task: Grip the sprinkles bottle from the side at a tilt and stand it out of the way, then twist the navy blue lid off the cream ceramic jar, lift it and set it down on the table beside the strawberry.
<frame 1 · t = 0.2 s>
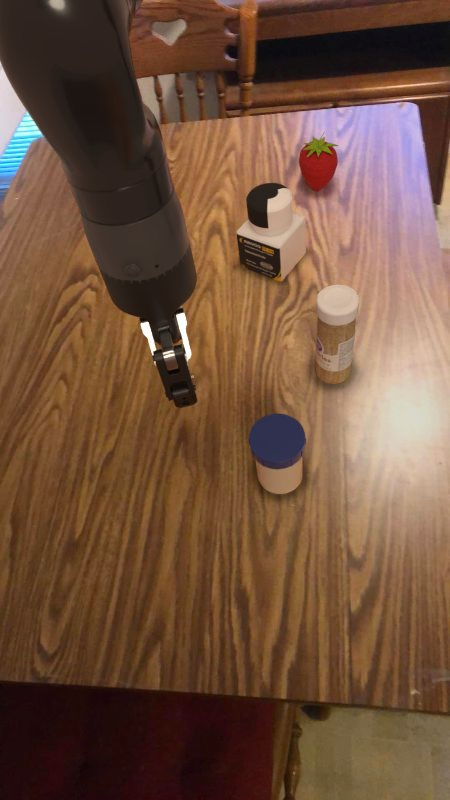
hand: (179, 369, 57), 13 cm above the table, tool pointing down, fingers open, 8 cm apart
medicine bottle: (273, 264, 83), on the table
sprinkles bottle: (333, 375, 71), on the table
strawberry: (317, 192, 92), on the table
jar: (280, 476, 64), on the table
jar lid: (277, 438, 57), point 8 cm above the table, screwed on, not yet turned
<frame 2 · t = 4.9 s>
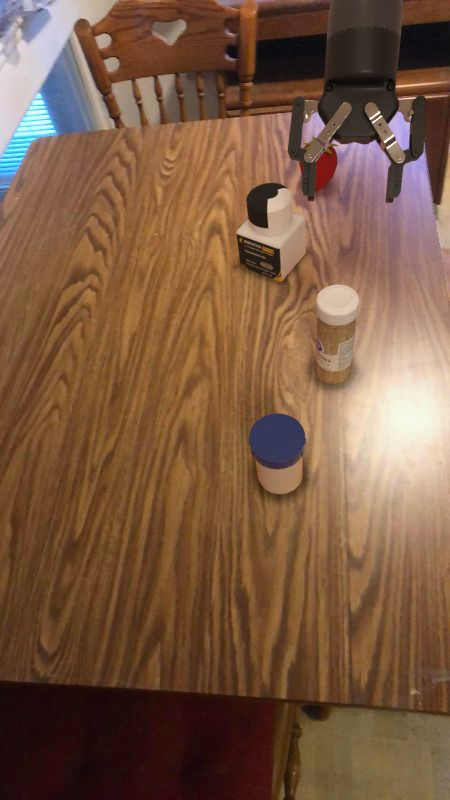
hand: (349, 201, 63), 17 cm above the table, tool tilted 45°, fingers open, 8 cm apart
nothing on the table moved.
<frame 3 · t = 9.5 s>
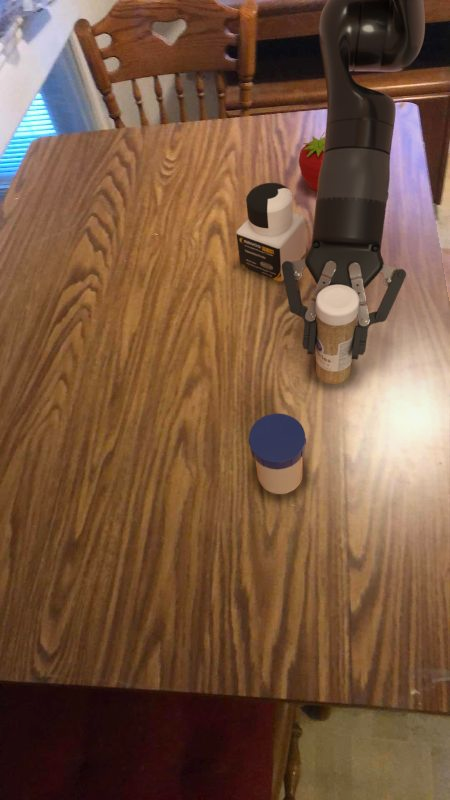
hand: (333, 355, 65), 6 cm above the table, tool tilted 45°, fingers closed on sprinkles bottle, 4 cm apart
sprinkles bottle: (333, 375, 71), on the table, touching gripper
everything else where it was.
when the fingers open (6 cm above the table, at t = 18.2 s): sprinkles bottle stays where it is, on the table.
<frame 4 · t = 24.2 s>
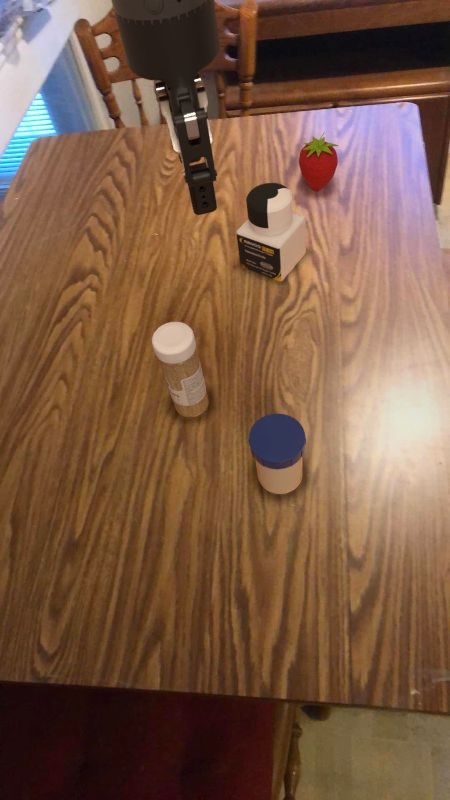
hand: (197, 184, 55), 25 cm above the table, tool pointing down, fingers open, 8 cm apart
sprinkles bottle: (193, 407, 71), on the table
everything else where it was.
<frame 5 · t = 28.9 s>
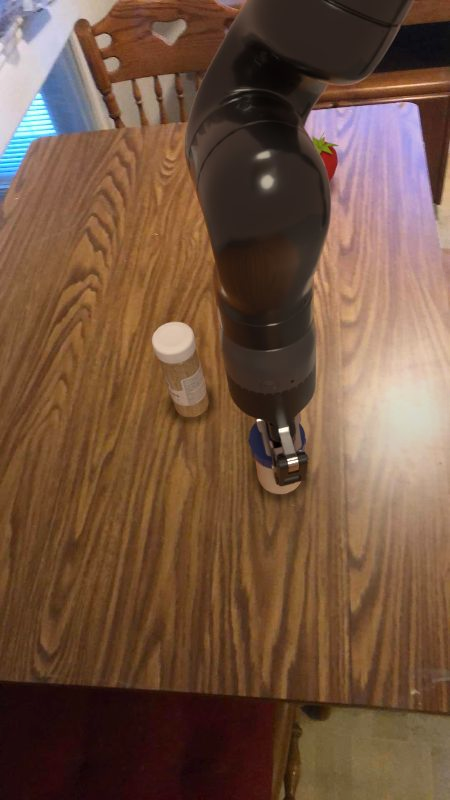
hand: (278, 454, 59), 5 cm above the table, tool pointing down, fingers closed on jar lid, 5 cm apart
jar lid: (277, 438, 57), point 8 cm above the table, screwed on, not yet turned, touching gripper
everything else where it was.
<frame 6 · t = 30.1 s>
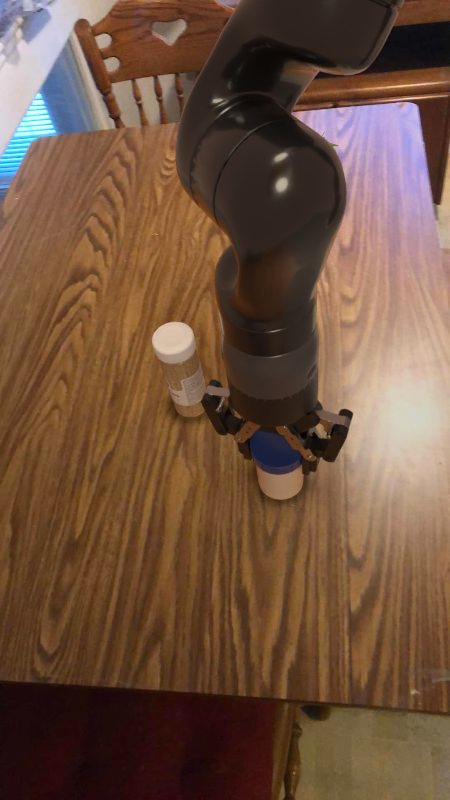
hand: (278, 459, 59), 5 cm above the table, tool pointing down, fingers closed on jar lid, 5 cm apart
jar lid: (278, 443, 56), point 9 cm above the table, turned 55° so far, risen 0.1 cm, still on its thread, touching gripper
everything else where it was.
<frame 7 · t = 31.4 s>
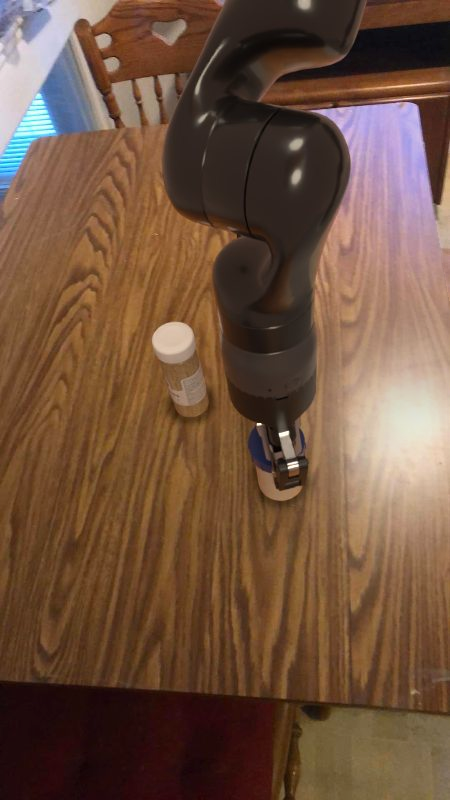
hand: (277, 458, 59), 5 cm above the table, tool pointing down, fingers closed on jar lid, 5 cm apart
jar: (280, 483, 63), on the table, touching jar lid
jar lid: (276, 442, 56), point 9 cm above the table, off its thread, touching gripper, jar
everything else where it was.
when the fingers open (0 cm above the table, at t = 43.5 s): jar lid drops 2 cm, point 1 cm above the table.
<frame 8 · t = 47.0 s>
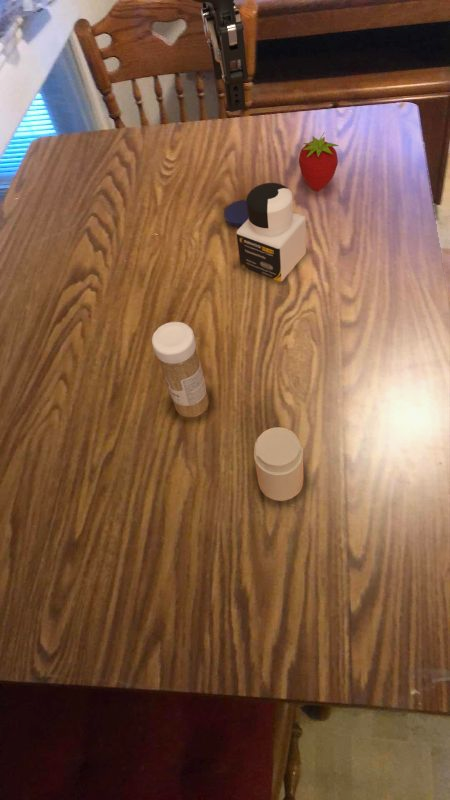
hand: (229, 93, 73), 20 cm above the table, tool pointing down, fingers open, 8 cm apart
jar: (280, 483, 63), on the table
jar lid: (242, 213, 89), point 1 cm above the table, off its thread
everything else where it was.
at the end: jar lid inside the target area on the table beside the strawberry (0.2 cm from its centre), point 1.5 cm above the table; the gripper is holding nothing; sprinkles bottle inside the target area (0.2 cm from its centre), on the table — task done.
